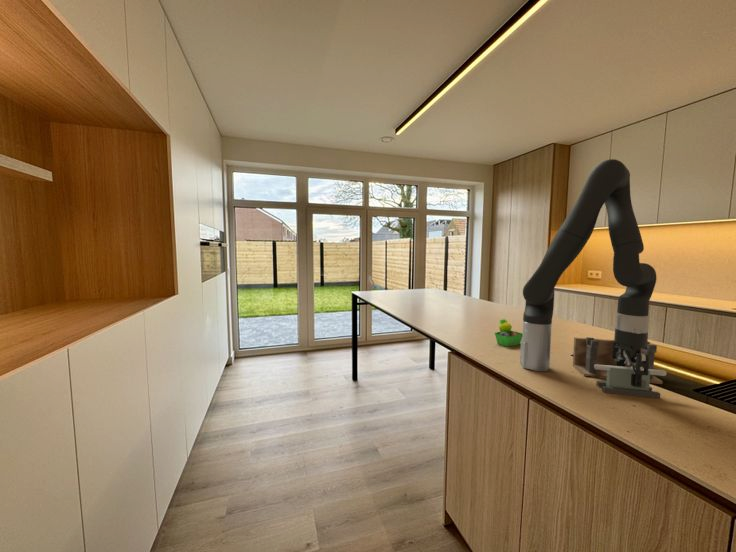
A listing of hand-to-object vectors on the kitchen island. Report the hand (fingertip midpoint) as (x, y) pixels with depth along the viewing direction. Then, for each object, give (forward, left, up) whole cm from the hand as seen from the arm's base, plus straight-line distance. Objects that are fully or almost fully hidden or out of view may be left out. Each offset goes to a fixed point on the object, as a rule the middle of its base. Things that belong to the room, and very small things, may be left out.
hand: (627, 380), depth 90 cm
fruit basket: (-27, +42, -4) cm, 50 cm away
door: (0, 0, -4) cm, 4 cm away
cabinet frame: (+3, +14, -4) cm, 15 cm away
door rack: (0, 0, -4) cm, 4 cm away
